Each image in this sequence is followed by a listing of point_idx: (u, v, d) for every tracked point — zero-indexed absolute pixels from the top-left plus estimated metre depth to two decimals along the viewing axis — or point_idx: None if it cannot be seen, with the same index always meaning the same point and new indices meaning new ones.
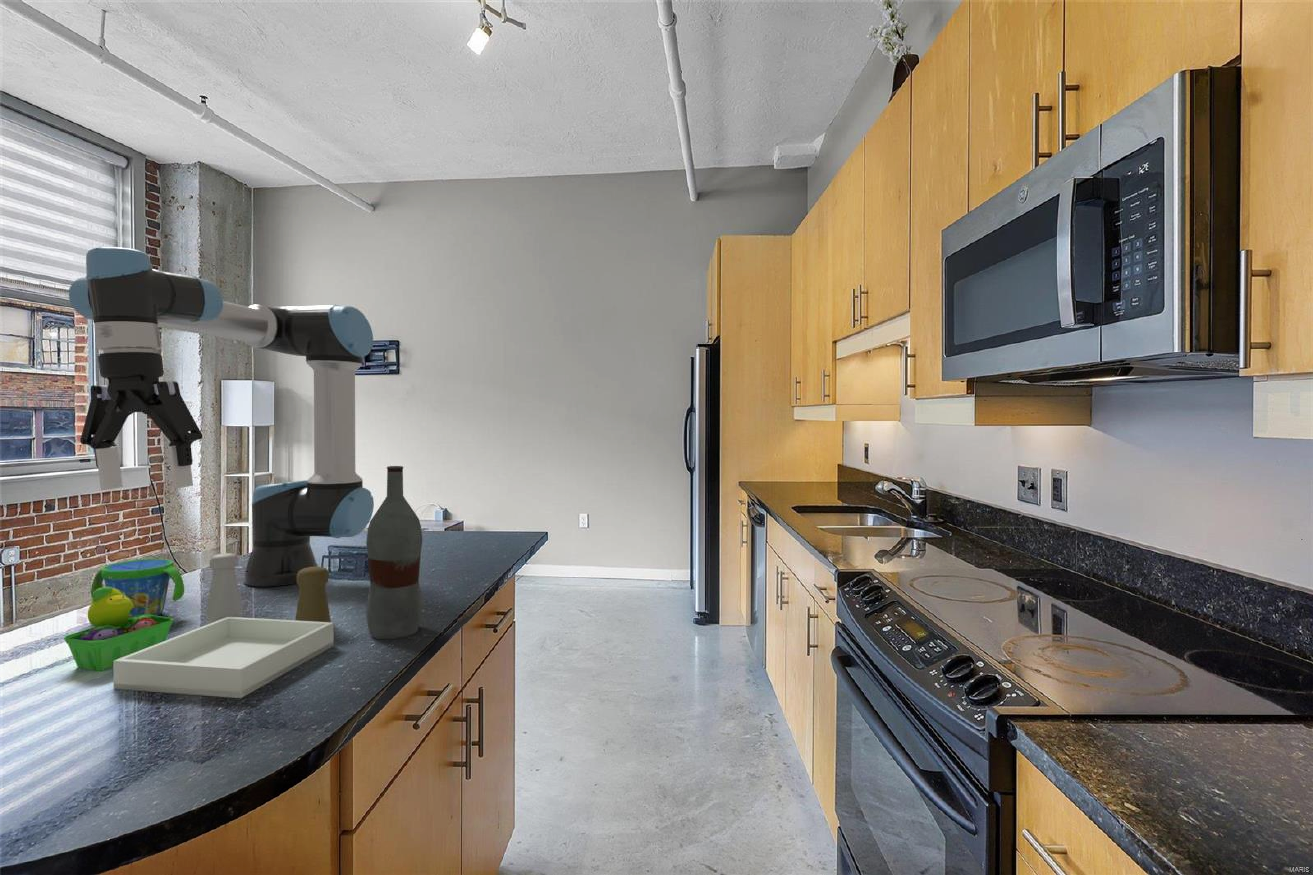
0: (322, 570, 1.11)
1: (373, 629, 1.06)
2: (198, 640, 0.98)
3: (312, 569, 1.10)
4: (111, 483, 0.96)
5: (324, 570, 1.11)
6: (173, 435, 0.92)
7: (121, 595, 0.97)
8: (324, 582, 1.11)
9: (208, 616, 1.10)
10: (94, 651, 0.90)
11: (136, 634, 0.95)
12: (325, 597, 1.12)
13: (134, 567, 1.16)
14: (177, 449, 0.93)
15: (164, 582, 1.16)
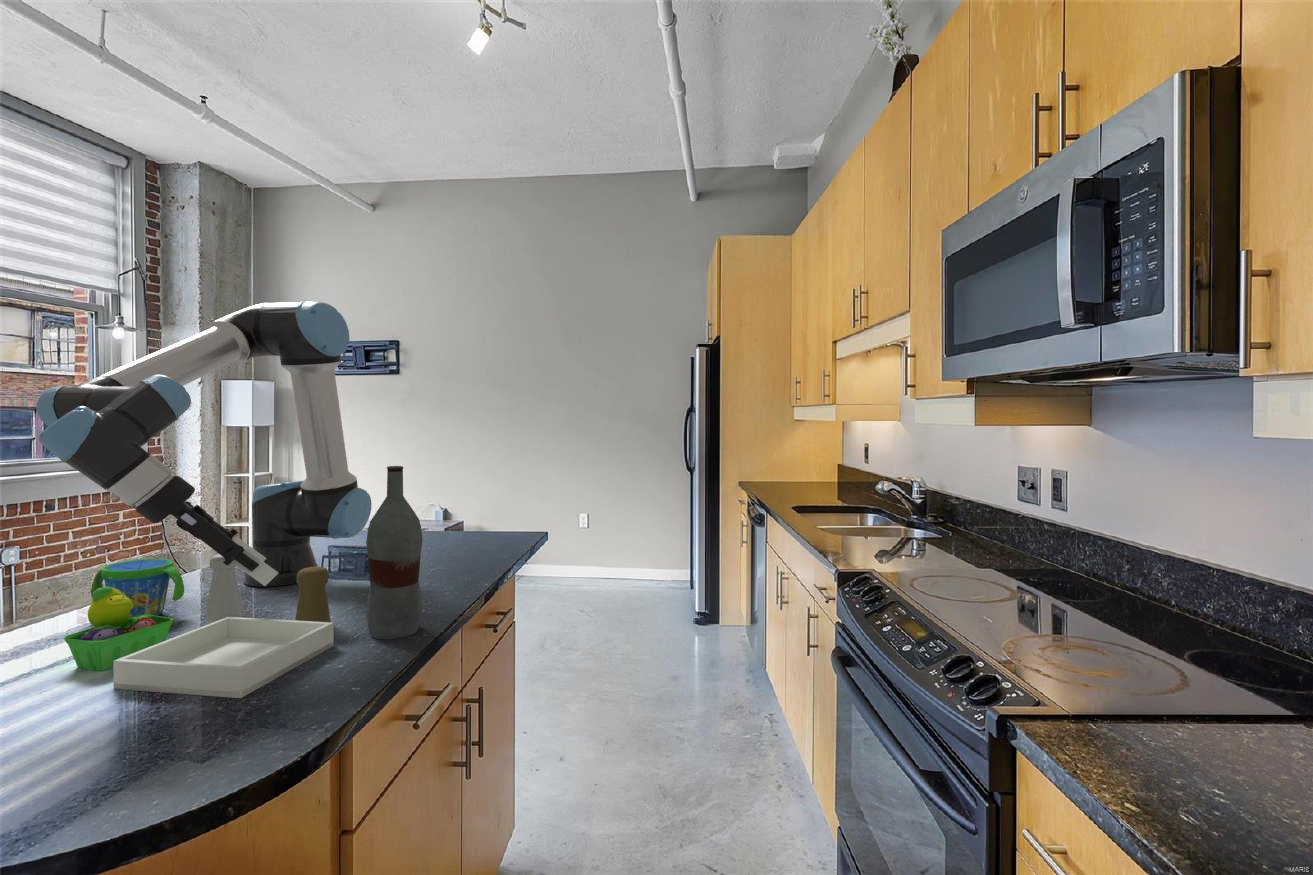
0: (323, 570, 1.11)
1: (373, 628, 1.06)
2: (198, 640, 0.98)
3: (312, 569, 1.10)
4: None
5: (324, 570, 1.11)
6: None
7: (121, 595, 0.97)
8: (324, 582, 1.11)
9: (208, 616, 1.10)
10: (94, 651, 0.90)
11: (136, 634, 0.95)
12: (325, 597, 1.12)
13: (134, 567, 1.16)
14: None
15: (164, 582, 1.16)
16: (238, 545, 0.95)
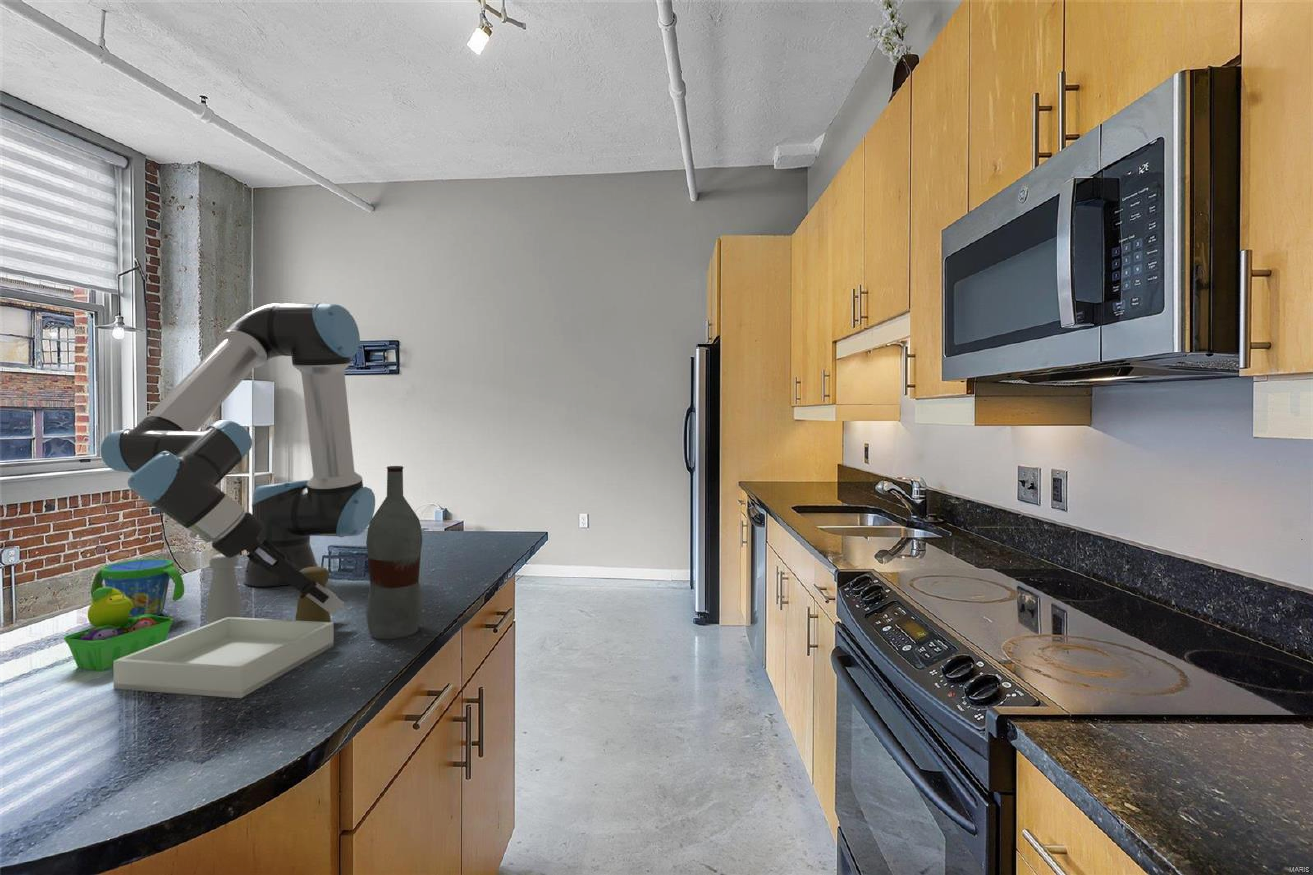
0: (323, 570, 1.11)
1: (373, 629, 1.06)
2: (198, 640, 0.98)
3: (312, 569, 1.10)
4: None
5: (324, 570, 1.11)
6: None
7: (121, 595, 0.97)
8: (324, 582, 1.11)
9: (208, 616, 1.10)
10: (94, 651, 0.90)
11: (136, 634, 0.95)
12: None
13: (134, 567, 1.16)
14: (310, 594, 1.08)
15: (164, 582, 1.16)
16: None
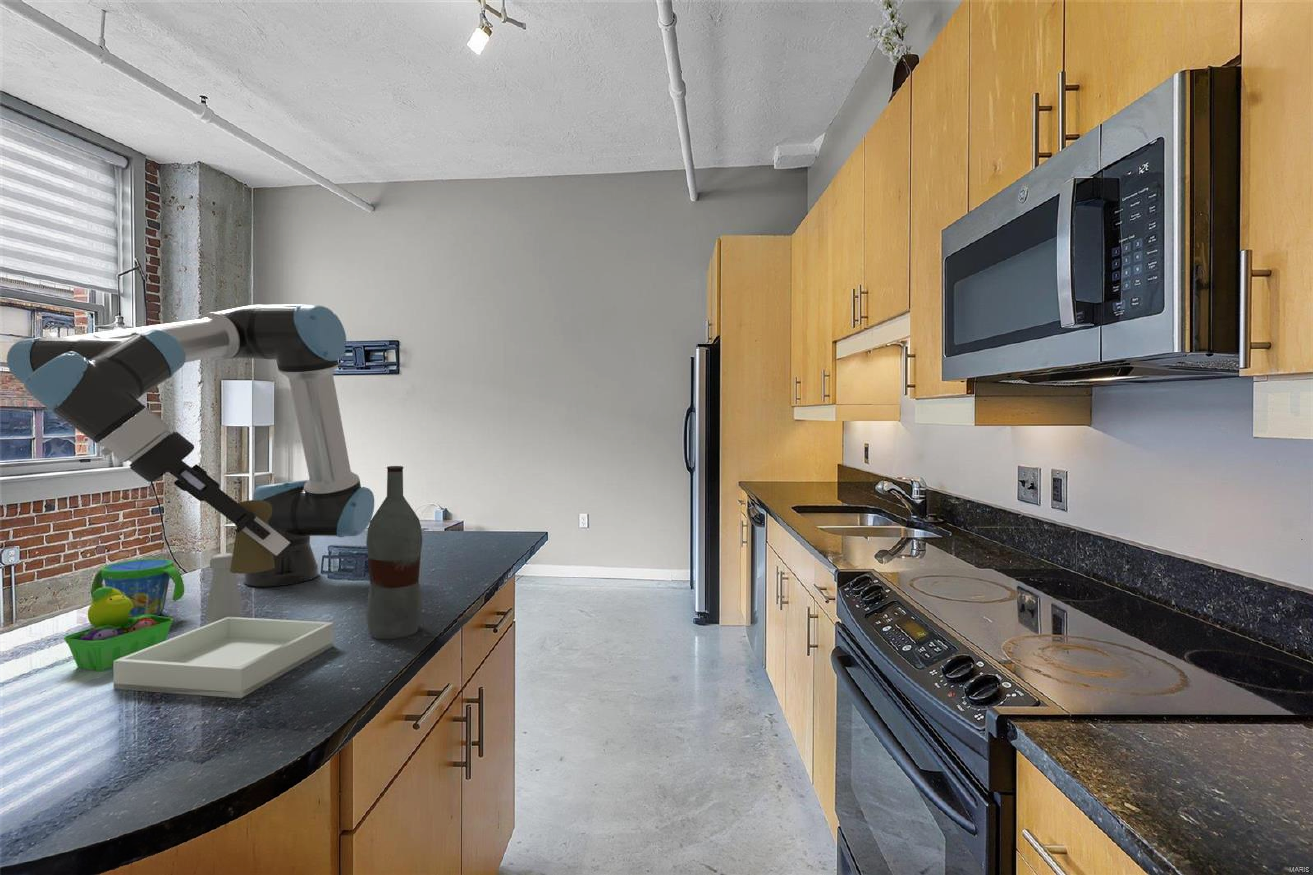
0: (264, 503, 0.97)
1: (373, 628, 1.06)
2: (198, 640, 0.98)
3: (252, 501, 0.96)
4: None
5: (266, 503, 0.97)
6: None
7: (121, 595, 0.97)
8: (266, 517, 0.97)
9: (208, 616, 1.10)
10: (94, 651, 0.90)
11: (136, 634, 0.95)
12: None
13: (134, 567, 1.16)
14: (248, 528, 0.94)
15: (164, 582, 1.16)
16: None
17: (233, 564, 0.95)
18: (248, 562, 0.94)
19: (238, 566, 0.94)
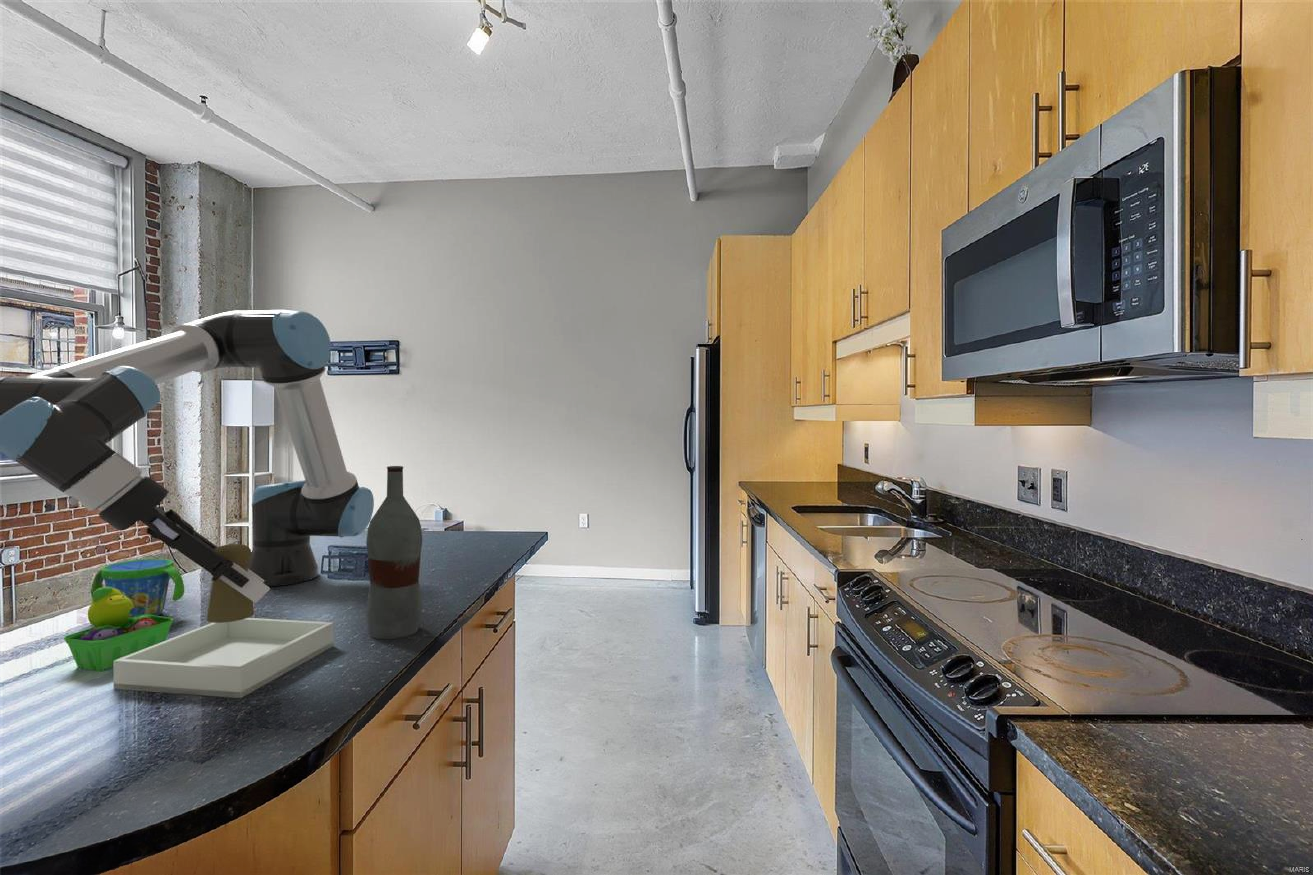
0: (243, 548, 0.93)
1: (373, 629, 1.06)
2: (198, 640, 0.98)
3: (230, 546, 0.92)
4: None
5: (245, 548, 0.93)
6: None
7: (121, 595, 0.97)
8: (244, 562, 0.92)
9: None
10: (94, 651, 0.90)
11: (136, 634, 0.95)
12: None
13: (134, 567, 1.16)
14: (225, 576, 0.90)
15: (164, 582, 1.16)
16: (226, 559, 0.88)
17: (210, 613, 0.91)
18: (225, 610, 0.90)
19: (215, 615, 0.90)
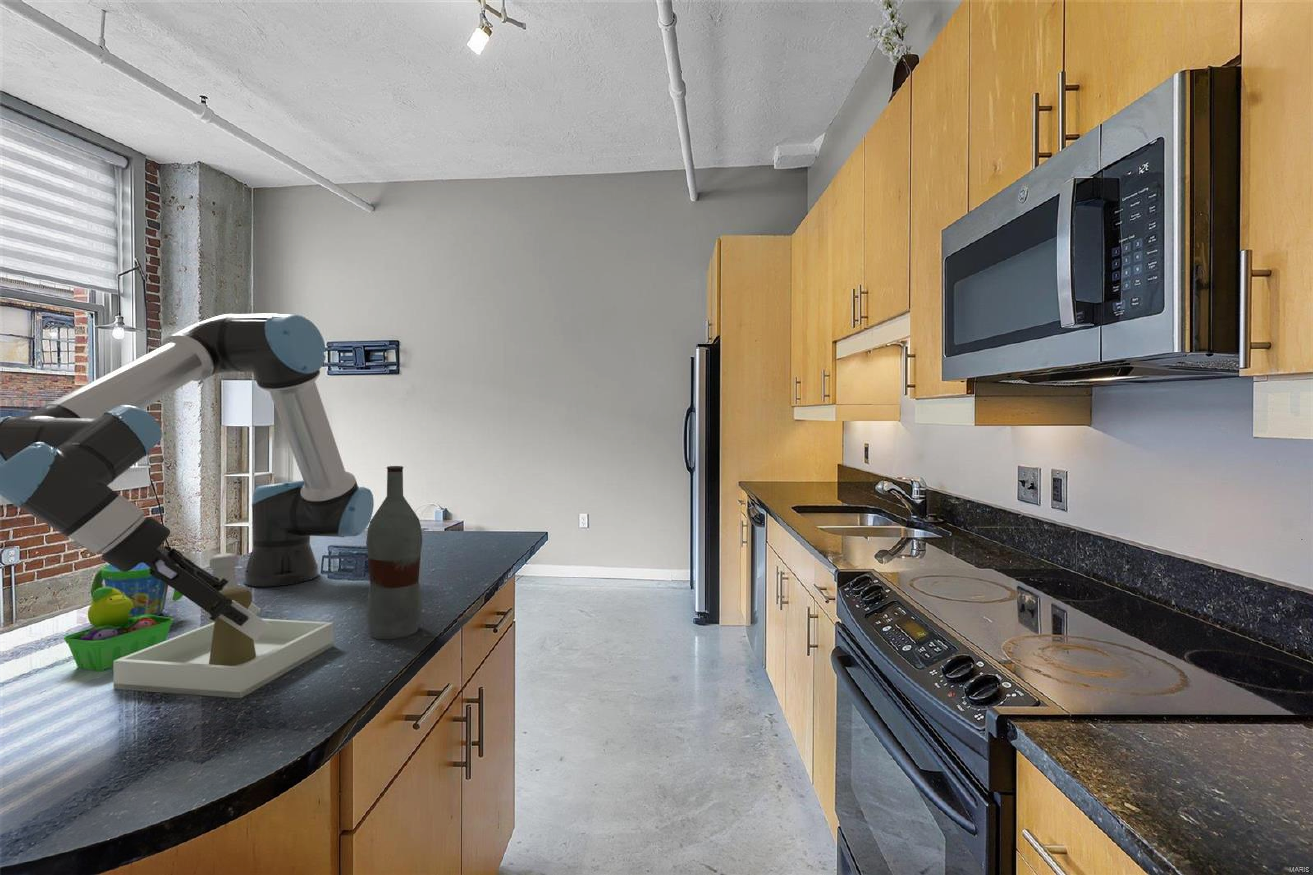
0: (243, 592, 0.93)
1: (373, 629, 1.06)
2: (198, 640, 0.98)
3: (230, 591, 0.93)
4: None
5: (245, 592, 0.94)
6: None
7: (121, 595, 0.97)
8: (245, 606, 0.93)
9: (208, 616, 1.10)
10: (94, 651, 0.90)
11: (136, 634, 0.95)
12: None
13: (134, 567, 1.16)
14: None
15: (164, 582, 1.16)
16: (225, 598, 0.87)
17: (212, 657, 0.92)
18: (227, 655, 0.91)
19: (217, 659, 0.91)
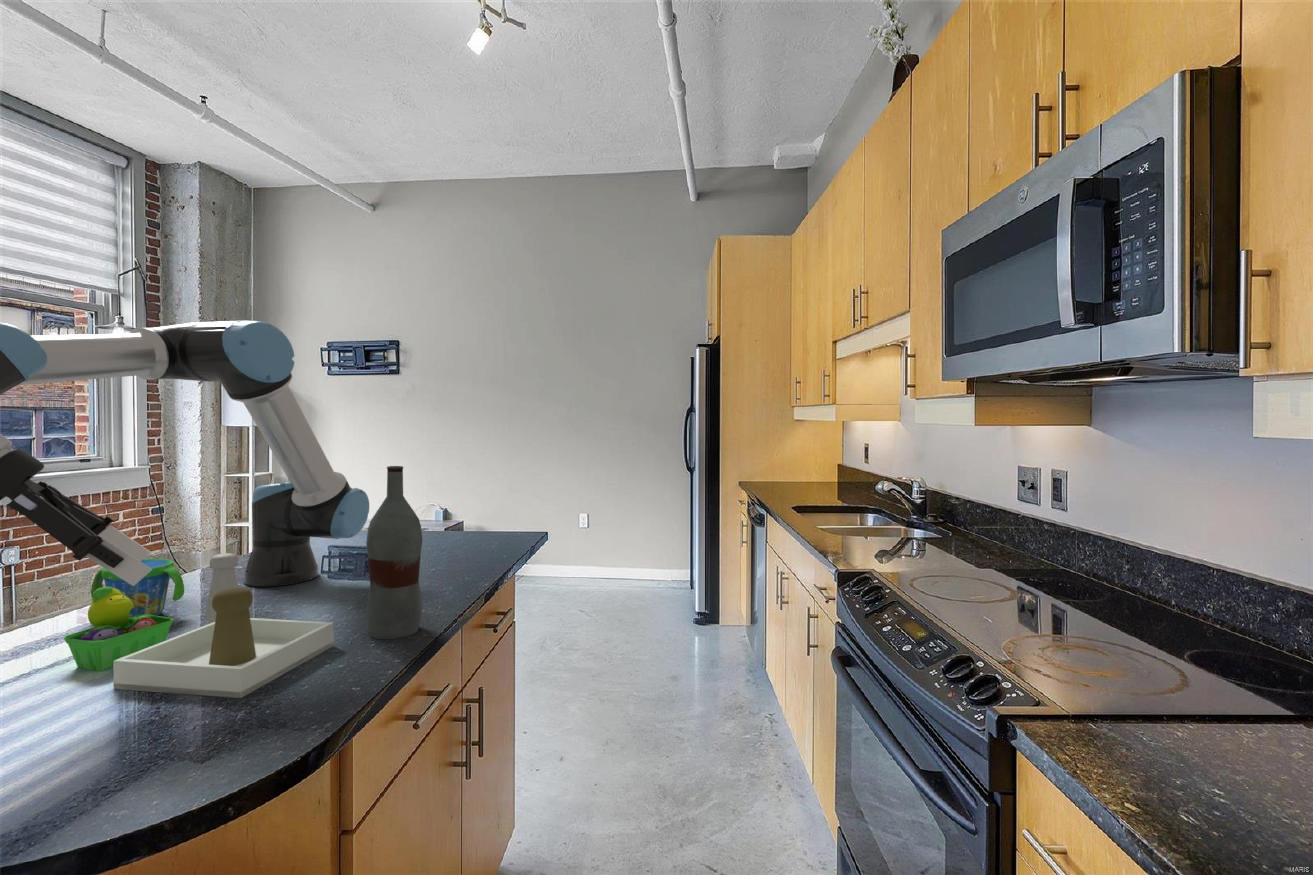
0: (244, 592, 0.93)
1: (373, 629, 1.06)
2: (198, 640, 0.98)
3: (231, 591, 0.93)
4: (136, 557, 0.91)
5: (246, 592, 0.94)
6: None
7: (121, 595, 0.97)
8: (246, 606, 0.93)
9: (208, 616, 1.10)
10: (94, 651, 0.90)
11: (136, 634, 0.95)
12: (247, 624, 0.94)
13: None
14: None
15: (164, 582, 1.16)
16: (92, 535, 0.76)
17: (212, 657, 0.92)
18: (227, 655, 0.91)
19: (217, 660, 0.91)
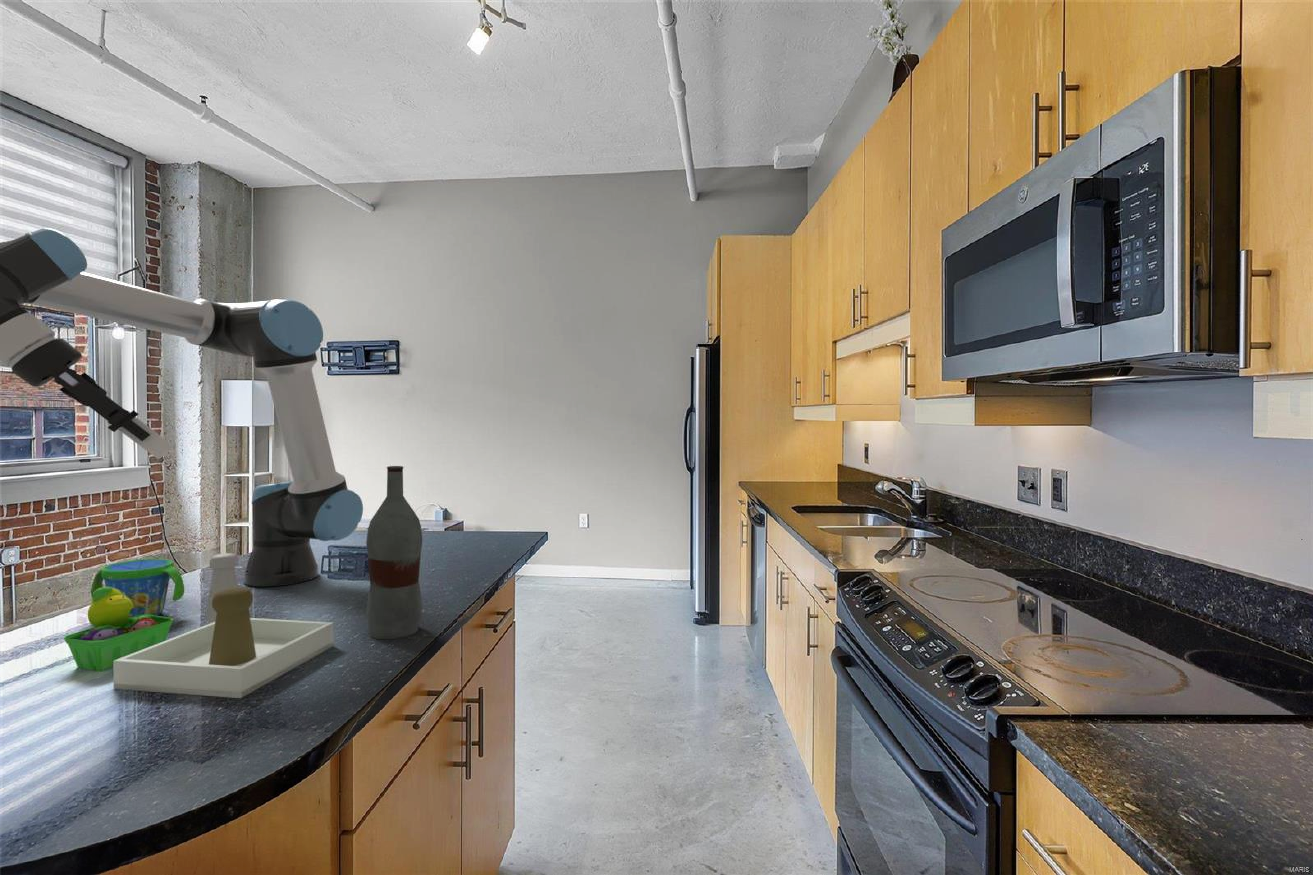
0: (244, 592, 0.93)
1: (373, 629, 1.06)
2: (198, 640, 0.98)
3: (231, 591, 0.93)
4: None
5: (246, 592, 0.94)
6: None
7: (121, 595, 0.97)
8: (246, 606, 0.93)
9: (208, 616, 1.10)
10: (94, 651, 0.90)
11: (136, 634, 0.95)
12: (248, 624, 0.94)
13: (134, 567, 1.16)
14: (125, 429, 0.91)
15: (164, 582, 1.16)
16: (124, 409, 0.89)
17: (212, 657, 0.92)
18: (227, 655, 0.91)
19: (217, 660, 0.91)
